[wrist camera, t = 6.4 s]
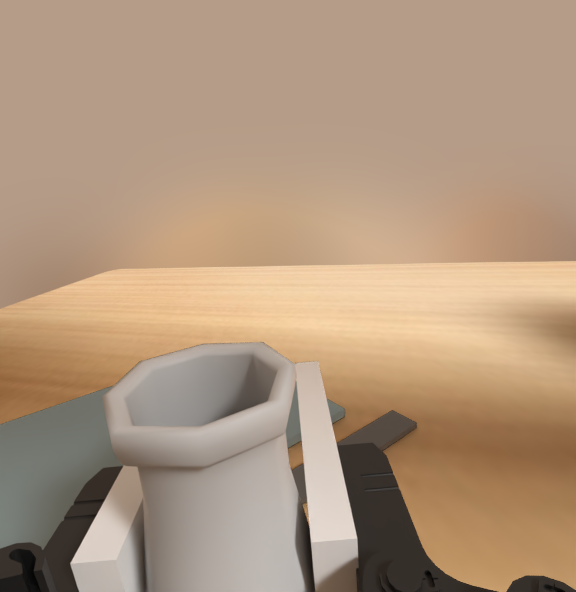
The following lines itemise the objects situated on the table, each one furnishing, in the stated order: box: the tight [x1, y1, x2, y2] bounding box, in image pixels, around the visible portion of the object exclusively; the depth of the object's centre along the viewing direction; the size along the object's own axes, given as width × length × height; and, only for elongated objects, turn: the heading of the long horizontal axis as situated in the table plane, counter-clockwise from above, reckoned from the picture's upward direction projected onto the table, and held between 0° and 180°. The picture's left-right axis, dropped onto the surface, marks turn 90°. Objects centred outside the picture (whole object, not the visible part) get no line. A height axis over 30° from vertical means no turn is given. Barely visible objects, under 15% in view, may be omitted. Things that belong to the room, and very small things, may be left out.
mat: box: [0, 381, 345, 550], centre depth 20 cm, size 26×13×1 cm, turn 127°
